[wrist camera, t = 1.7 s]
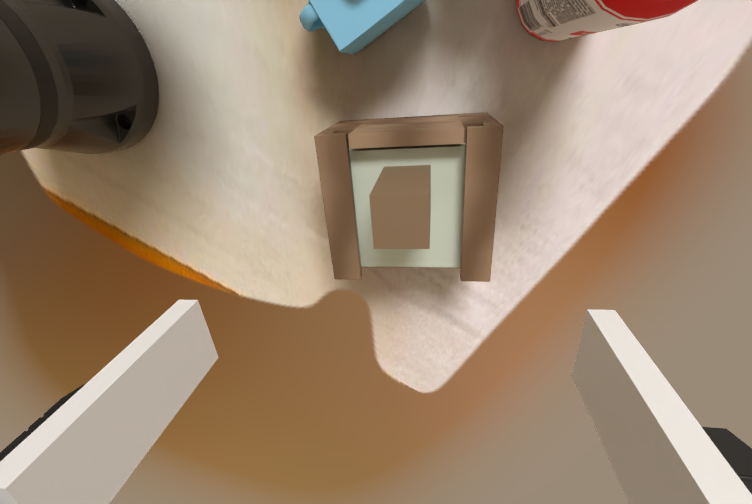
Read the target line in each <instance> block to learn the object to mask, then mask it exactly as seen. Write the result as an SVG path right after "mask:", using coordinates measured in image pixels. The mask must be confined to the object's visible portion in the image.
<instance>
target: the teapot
mask: <svg viewBox="0 0 752 504" xmlns="http://www.w3.org/2000/svg"><path fill="white" fill-rule="evenodd" d="M424 1H425V0H309V3H308V4H307V5H306V6H305V8H304V9H303V10H302V12H301V14H300V21H301V23H302V25H303V27H304V28H305V29H306V30H307V31H314V30H316V29H319V28H324V29H325V28H326V30H327V32H328V33H329V35H330V37H331V38H332V40H333V42H334V43H335V45H336V47H337V48H338V50H339V52H340V53H347V54H353V55H355V54H357V53H358V52H359V51H361V50H362V49H363V48H364V47H366V46H367V45H368V44H370V43H371V42H372V41H374V40H375V39H376V38H377V37H379V36H380V35H381V34H383V33H384V32H385V31H386V30H388V29H389V28H390V27H392V26H393V25H394V24H395V23H397V22H398V21H399V20H401V19H402V18H403V17H404V16H406V15H407V14H408V13H410V12H411V11H412V10H413V9H415V8H416V7H417V6H419V5H420V4H421V3H422V2H424Z"/></svg>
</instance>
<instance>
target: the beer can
mask: <svg viewBox="0 0 752 504" xmlns="http://www.w3.org/2000/svg"><path fill="white" fill-rule="evenodd" d="M696 1H698V0H516V5H517V13H518V16H519V19H520V21H521V24H522V25H523V27H524V28H525V29H526V30H527V31H528V33H529V34H530V35H532V36H534V37H536V38H538V39H540V40H545V41H554V42H556V41H560V40H565V39H569V38H574V37H579V36H583V35H588V34H592V33H597V32H601V31H606V30H611V29H615V28H620V27H624V26H629V25H633V24H638V23H642V22H647V21H651V20H655V19H659V18H664V17H668V16H670V15H672V14H674V13H676V12H678V11H680V10H681V9H683V8H685V7H687V6H689V5H691V4H692V3H694V2H696Z"/></svg>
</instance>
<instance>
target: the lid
mask: <svg viewBox="0 0 752 504" xmlns="http://www.w3.org/2000/svg"><path fill="white" fill-rule="evenodd" d="M465 152H466V143H464V144H446V145H423V146H401V147H379V148H357V149H349V153H350V162H351V172H352V182H353V192H354V201H355V211H356V221H357V231H358V240H359V250H360V260H361V267H454V268H461V249H462V225H463V201H464V176H465Z"/></svg>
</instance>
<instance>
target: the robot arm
mask: <svg viewBox="0 0 752 504" xmlns="http://www.w3.org/2000/svg"><path fill="white" fill-rule="evenodd" d="M157 105H158V85H157V78H156V73H155V69H154V65H153V62H152V59H151V56H150V53H149V51H148V48H147V46H146V44H145V42H144V40H143V38H142V36H141V34H140V33H139V31H138V29H137V28H136V26H135V25H134V23H133V22H132V20H131V19H130V18H129V16H128V15H127V14H126V13H125V11H124V10H123V9H122V8H121V7H120V6H119V5H118V3H117V2H116V1H115V0H0V155H2V154H6V153H11V152H14V151H19V150H25V149H30V148H41V149H50V150H59V151H68V152H77V153H86V154H102V153H109V152H113V151H117V150H121V149H124V148H128V147H130V146H132V145H134V144H136V143H137V142H139V141H140V140H141V139H142V138H143V137H144V136H145V135H146V134H147V133H148V131H149V130H150V128H151V126H152V124H153V122H154V119H155V116H156V111H157ZM217 358H218V355H217V352H216V349H215V346H214V344H213V341H212V338H211V335H210V333H209V330H208V327H207V324H206V321H205V319H204V316H203V313H202V310H201V307H200V305H199V302H198V300H178V301H177V302H176V303H175V304H174V305H173V306H172V307H171V308H169V309H168V310H167V311H166V312H165V313H164V314H163V315H162V316H160V317H159V318H158V319H157V320H156V321H155V322H154V323H153V324H152V325H151V326H149V327H148V328H147V329H146V330H145V331H144V332H143V333H142V334H141V335H140V336H138V338H136V339H135V340H134V341H133V342H132V343H131V344H130V345H128V346H127V347H126V348H125V349H124V350H123V351H122V352H121V353H120V354H119V355H117V356H116V357H115V358H114V359H113V360H112V361H111V362H110V363H109V364H107V365H106V366H105V367H104V368H103V369H102V370H101V371H100V372H99V373H98V374H96V375H95V376H94V377H93V378H92V379H91V380H90V381H89V382H88V383H87V384H85V385H82V386H81V387H79V388H77V389H76V390H74V391H73V392H71V393H69V394H68V395H66V396H65V397H63V398H62V399H60V400H59V401H58V402H57V403H56V404H55V405H54V406H53V407H51V408H50V409H49V410H48V411H47V412H46V413H45V414H44V417H42V418H39V419H38V420H37V421H36V422H34V423H33V424H32V425H31V426H30V427H29V429H28V431H24V432H23V433H22V434H21V435H20V436H19V437H18V438H16V439H15V440H14V441H13V442H12V443H11V444H10V445H9V446H7V447H6V448H5V449H4V450H3V451H2V452H1V453H0V504H109V503H110V502H111V500H112V499H113V498H114V496H115V495H116V494H117V492H118V491H119V490H120V488H121V487H122V486H123V484H124V483H125V482H126V480H127V479H128V478H129V476H130V475H131V474H132V472H133V471H134V470H135V468H136V467H137V466H138V464H139V463H140V462H141V460H142V459H143V457H144V456H145V455H146V453H147V452H148V451H149V450H150V448H151V447H152V446H153V444H154V443H155V442H156V440H157V439H158V437H159V436H160V435H161V433H162V432H163V431H164V429H165V428H166V427H167V425H168V424H169V423H170V421H171V420H172V419H173V417H174V416H175V415H176V413H177V412H178V411H179V409H180V408H181V407H182V405H183V404H184V403H185V401H186V400H187V399H188V397H189V396H190V395H191V393H192V392H193V391H194V389H195V388H196V387H197V385H198V384H199V383H200V381H201V380H202V379H203V377H204V376H205V375H206V373H207V372H208V371H209V369H210V368H211V367H212V365H213V364H214V363H215V361H216V360H217ZM572 377H573V380H574V382H575V384H576V387H577V389H578V391H579V393H580V396H581V398H582V400H583V402H584V404H585V407H586V409H587V411H588V414H589V416H590V418H591V420H592V423H593V425H594V427H595V429H596V432H597V434H598V436H599V438H600V441H601V443H602V445H603V447H604V450H605V452H606V454H607V456H608V459H609V461H610V463H611V465H612V468H613V470H614V472H615V474H616V477H617V479H618V481H619V483H620V486H621V488H622V490H623V492H624V495H625V497H626V499H627V501H628V504H752V449H751V448H750V447H749V446H748V445H746V444H745V443H744V442H742V441H741V440H740V439H738V438H737V437H736V436H735V435H734V434H732V433H731V432H730V431H728V430H727V429H722V428H708V427H701V426H700V425H699V423H698V422H697V420H696V419H695V418H694V416H693V415H692V414H691V412H690V411H689V410H688V408H687V407H686V406H685V404H684V403H683V402H682V400H681V399H680V397H679V396H678V395H677V393H676V392H675V391H674V389H673V388H672V387H671V385H670V384H669V383H668V381H667V380H666V379H665V377H664V376H663V375H662V373H661V372H660V370H659V369H658V368H657V366H656V365H655V364H654V362H652V360H651V358H650V357H649V356H648V354H647V353H646V352H645V350H644V349H643V348H642V346H641V345H640V343H639V342H638V341H637V340H636V338H635V337H634V335H633V334H632V333H631V331H630V330H629V329H628V327H627V326H626V325H625V323H624V322H623V321H622V319H621V318H620V317H619V315H618V314H617V312H616V311H615V310H587V313H586V317H585V321H584V326H583V330H582V334H581V339H580V343H579V348H578V351H577V356H576V360H575V364H574V369H573V373H572Z"/></svg>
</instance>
